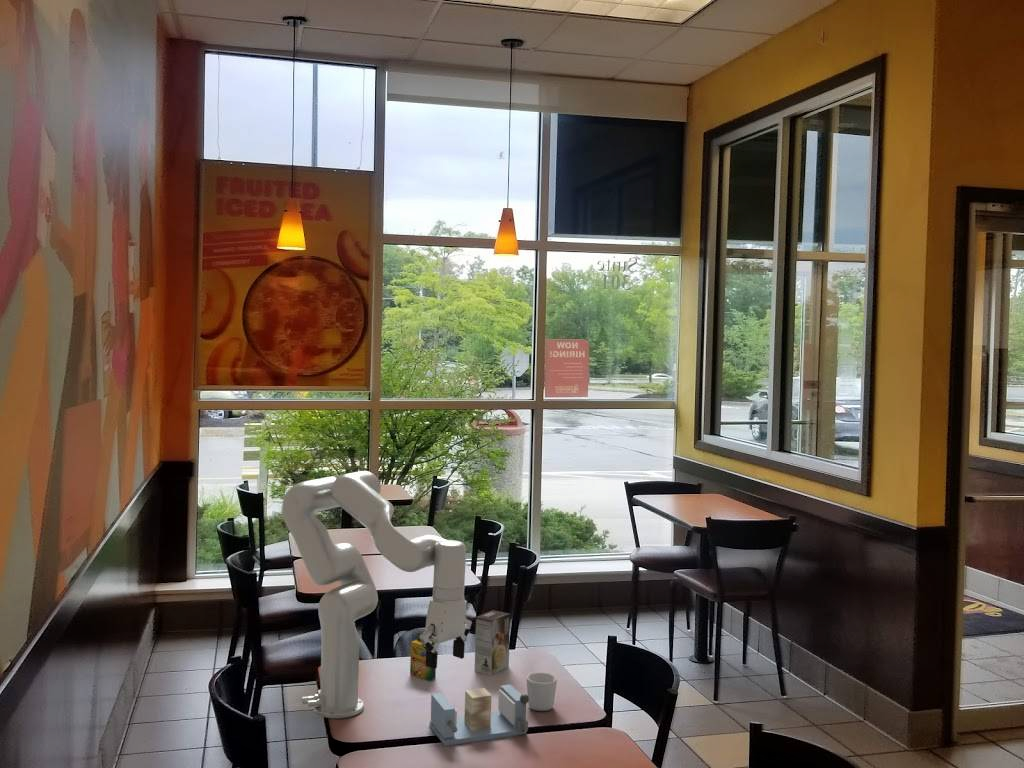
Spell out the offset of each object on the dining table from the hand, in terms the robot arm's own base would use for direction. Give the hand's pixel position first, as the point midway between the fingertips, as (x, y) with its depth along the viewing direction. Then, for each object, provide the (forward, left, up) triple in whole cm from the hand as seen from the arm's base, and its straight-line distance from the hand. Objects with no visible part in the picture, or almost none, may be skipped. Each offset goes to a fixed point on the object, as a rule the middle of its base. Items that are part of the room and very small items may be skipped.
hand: (444, 662), depth 218 cm
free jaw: (0, -2, -16) cm, 16 cm away
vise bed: (+9, -1, -18) cm, 20 cm away
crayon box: (+6, +38, -18) cm, 42 cm away
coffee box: (+27, +38, -18) cm, 50 cm away
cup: (+29, +9, -18) cm, 36 cm away
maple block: (+9, 0, -17) cm, 19 cm away
